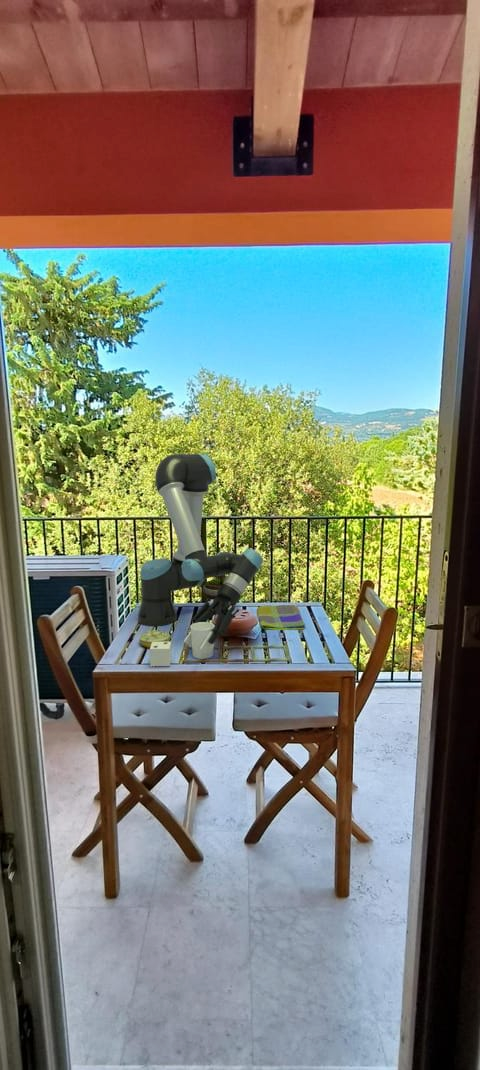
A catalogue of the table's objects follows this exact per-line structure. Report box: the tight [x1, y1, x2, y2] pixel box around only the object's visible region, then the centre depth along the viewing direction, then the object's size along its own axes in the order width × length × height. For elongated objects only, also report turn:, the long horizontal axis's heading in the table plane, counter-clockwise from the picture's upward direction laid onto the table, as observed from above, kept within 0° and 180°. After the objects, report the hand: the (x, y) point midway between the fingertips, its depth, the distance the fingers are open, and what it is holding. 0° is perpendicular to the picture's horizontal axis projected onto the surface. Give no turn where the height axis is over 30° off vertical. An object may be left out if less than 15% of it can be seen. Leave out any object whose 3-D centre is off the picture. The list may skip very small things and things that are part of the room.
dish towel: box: [256, 604, 306, 631], centre depth 211 cm, size 18×24×3 cm
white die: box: [149, 641, 173, 668], centre depth 169 cm, size 6×6×6 cm
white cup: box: [189, 621, 215, 660], centre depth 175 cm, size 8×8×10 cm
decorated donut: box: [138, 629, 171, 649], centre depth 186 cm, size 10×11×4 cm
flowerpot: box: [202, 575, 236, 610], centre depth 221 cm, size 14×15×20 cm
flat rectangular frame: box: [182, 644, 291, 664], centre depth 176 cm, size 34×12×1 cm, turn 92°
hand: (194, 647), depth 173 cm, fingers closed on white cup, 8 cm apart
